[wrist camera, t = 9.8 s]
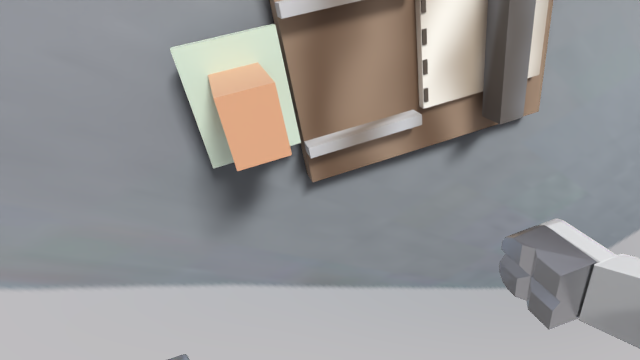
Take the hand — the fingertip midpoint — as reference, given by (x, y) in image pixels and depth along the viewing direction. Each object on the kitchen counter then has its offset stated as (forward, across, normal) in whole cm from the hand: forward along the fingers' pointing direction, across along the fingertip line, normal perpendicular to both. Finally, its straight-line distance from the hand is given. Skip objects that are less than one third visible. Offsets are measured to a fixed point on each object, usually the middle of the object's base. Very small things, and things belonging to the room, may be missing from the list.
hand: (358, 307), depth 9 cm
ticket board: (+19, -13, 0) cm, 23 cm away
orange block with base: (+18, +1, 0) cm, 18 cm away
